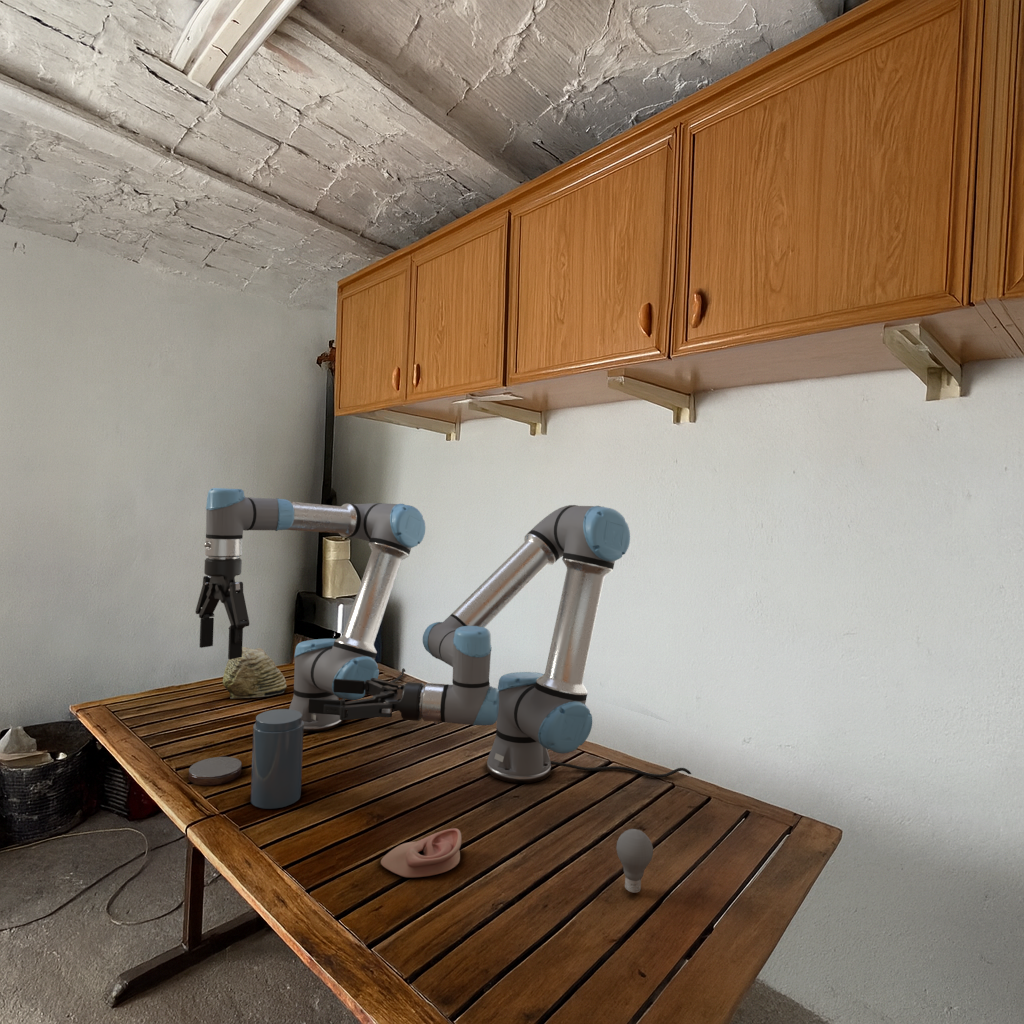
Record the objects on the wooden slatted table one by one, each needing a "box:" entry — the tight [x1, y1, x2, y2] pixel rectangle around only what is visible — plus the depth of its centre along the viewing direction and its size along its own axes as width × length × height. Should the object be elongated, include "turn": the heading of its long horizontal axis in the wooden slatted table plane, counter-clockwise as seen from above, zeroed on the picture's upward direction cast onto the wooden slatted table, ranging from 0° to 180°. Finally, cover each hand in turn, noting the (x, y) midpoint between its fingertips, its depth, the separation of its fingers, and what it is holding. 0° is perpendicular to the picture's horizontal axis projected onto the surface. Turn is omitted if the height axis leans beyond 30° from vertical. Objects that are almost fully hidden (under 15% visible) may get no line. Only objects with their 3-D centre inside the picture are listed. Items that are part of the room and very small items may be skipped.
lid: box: [188, 756, 242, 787], centre depth 142 cm, size 11×11×2 cm
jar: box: [250, 708, 304, 810], centre depth 133 cm, size 10×10×17 cm
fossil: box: [222, 646, 288, 699], centre depth 198 cm, size 9×18×15 cm, turn 132°
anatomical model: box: [380, 827, 462, 879], centre depth 112 cm, size 13×4×12 cm
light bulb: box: [615, 828, 654, 894], centre depth 106 cm, size 6×6×10 cm
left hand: (220, 652), depth 141 cm, fingers open, 13 cm apart
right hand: (322, 694), depth 131 cm, fingers open, 13 cm apart
